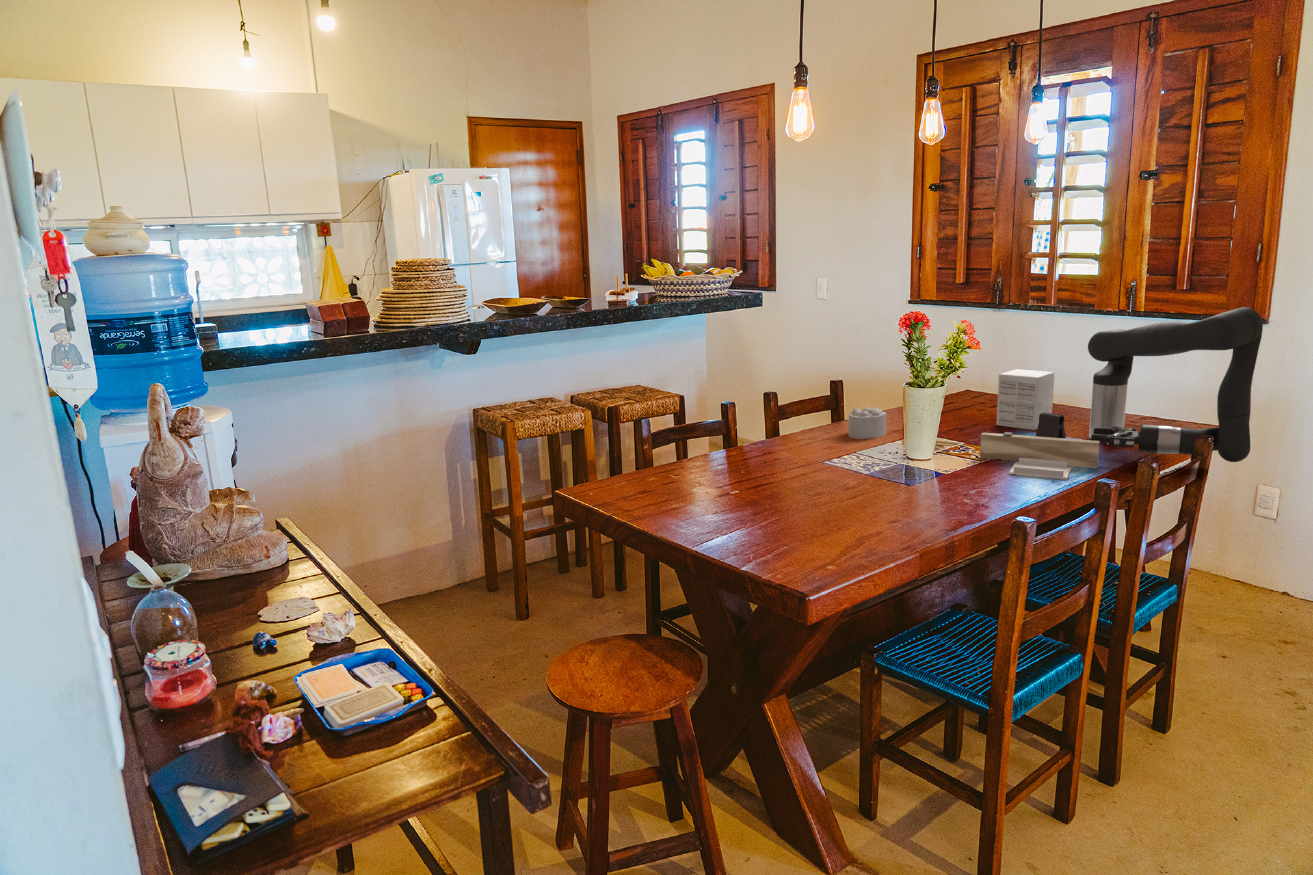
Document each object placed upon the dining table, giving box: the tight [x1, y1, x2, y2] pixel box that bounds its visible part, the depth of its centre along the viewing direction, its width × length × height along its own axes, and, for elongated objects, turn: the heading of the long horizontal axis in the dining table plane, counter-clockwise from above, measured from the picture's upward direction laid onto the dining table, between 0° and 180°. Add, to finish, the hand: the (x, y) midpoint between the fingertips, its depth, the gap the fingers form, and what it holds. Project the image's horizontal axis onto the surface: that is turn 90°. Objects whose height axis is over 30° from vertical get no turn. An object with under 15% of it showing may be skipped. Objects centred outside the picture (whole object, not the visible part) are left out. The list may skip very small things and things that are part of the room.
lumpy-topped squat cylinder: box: [848, 406, 887, 440], centre depth 271 cm, size 10×13×9 cm
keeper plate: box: [1008, 458, 1072, 481], centre depth 222 cm, size 11×14×2 cm
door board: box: [979, 431, 1101, 469], centre depth 230 cm, size 3×30×8 cm, turn 59°
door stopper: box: [1035, 412, 1067, 439], centre depth 237 cm, size 9×6×12 cm, turn 122°
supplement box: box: [995, 368, 1055, 431], centre depth 274 cm, size 13×13×18 cm
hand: (1092, 434), depth 232 cm, fingers open, 8 cm apart
